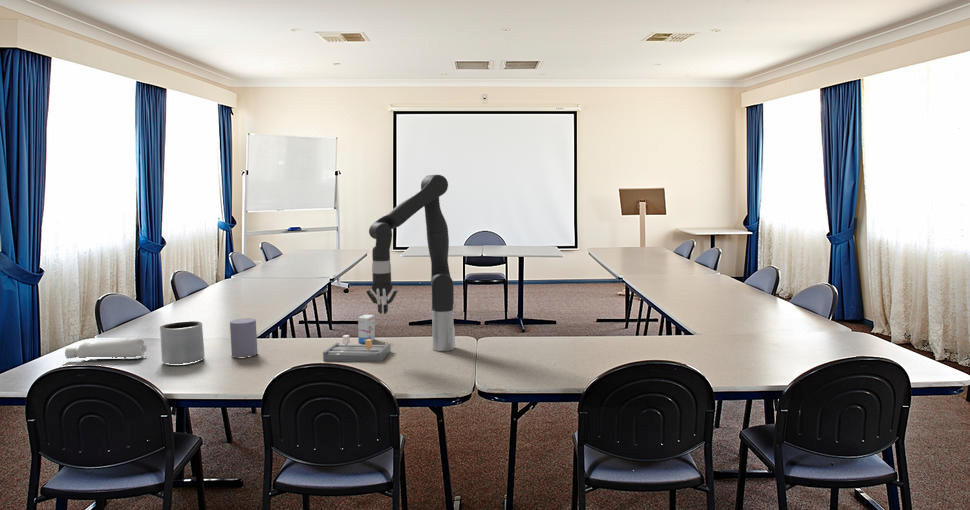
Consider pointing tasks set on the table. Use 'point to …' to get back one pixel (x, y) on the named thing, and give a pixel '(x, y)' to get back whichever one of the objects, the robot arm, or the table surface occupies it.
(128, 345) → the bottle
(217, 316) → the table surface
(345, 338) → the fader rear
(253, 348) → the container
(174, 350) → the planter
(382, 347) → the console
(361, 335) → the ink box
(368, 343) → the fader front
